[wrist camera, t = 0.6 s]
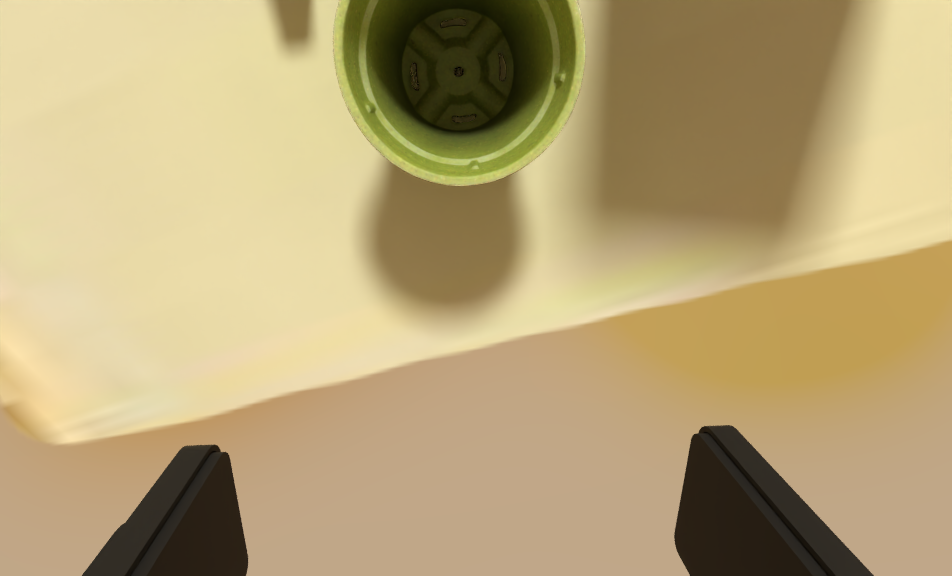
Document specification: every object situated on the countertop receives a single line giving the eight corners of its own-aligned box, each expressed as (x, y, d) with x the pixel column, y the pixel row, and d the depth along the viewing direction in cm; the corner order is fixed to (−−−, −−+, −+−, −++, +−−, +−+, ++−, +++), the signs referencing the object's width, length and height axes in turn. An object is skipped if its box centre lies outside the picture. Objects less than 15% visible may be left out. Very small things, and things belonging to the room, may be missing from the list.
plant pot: (387, 174, 29) (363, 202, 20) (349, -15, 25) (303, -72, 17) (551, 149, 29) (592, 167, 20) (534, -43, 25) (576, -112, 17)
